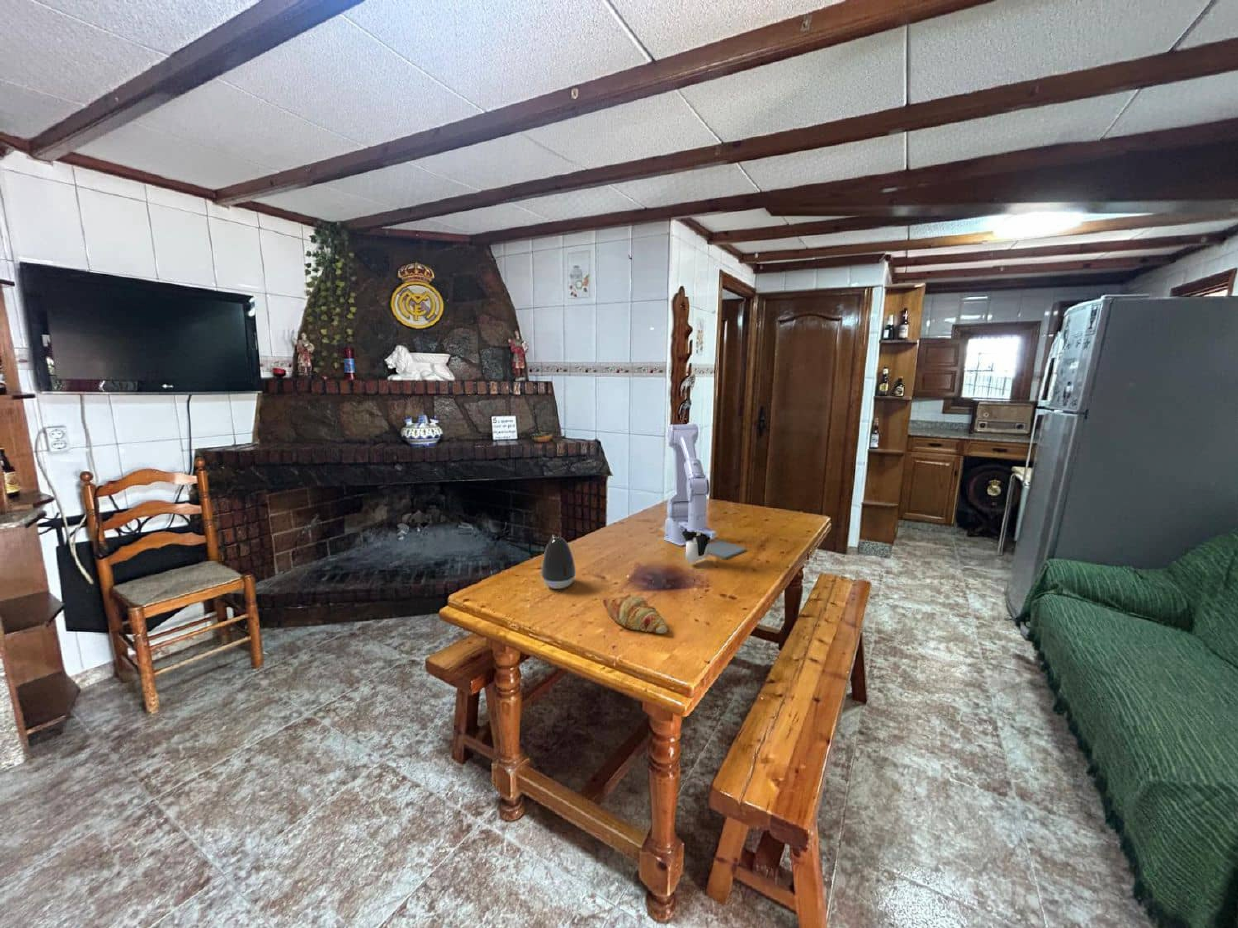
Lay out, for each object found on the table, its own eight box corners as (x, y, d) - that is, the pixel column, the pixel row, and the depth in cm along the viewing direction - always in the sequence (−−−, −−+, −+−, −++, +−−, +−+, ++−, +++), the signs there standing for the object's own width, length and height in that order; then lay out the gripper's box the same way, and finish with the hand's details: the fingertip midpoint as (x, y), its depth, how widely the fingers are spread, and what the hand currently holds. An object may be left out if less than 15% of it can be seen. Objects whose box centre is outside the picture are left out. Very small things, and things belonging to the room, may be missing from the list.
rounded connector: (683, 559, 164) (683, 539, 163) (700, 553, 170) (701, 533, 168) (691, 563, 161) (692, 542, 160) (708, 556, 167) (709, 536, 165)
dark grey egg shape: (570, 575, 158) (569, 529, 155) (580, 589, 148) (578, 540, 145) (538, 581, 154) (536, 534, 151) (546, 595, 145) (544, 545, 142)
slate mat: (697, 549, 178) (697, 547, 178) (719, 541, 186) (719, 539, 186) (724, 559, 169) (724, 557, 169) (746, 550, 177) (746, 548, 177)
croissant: (673, 643, 126) (682, 612, 127) (651, 641, 118) (661, 608, 119) (610, 615, 139) (619, 587, 140) (587, 611, 132) (597, 582, 133)
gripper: (672, 511, 165) (672, 550, 168) (706, 521, 154) (705, 563, 157) (686, 507, 170) (686, 545, 173) (721, 517, 159) (719, 557, 162)
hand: (696, 553), depth 165 cm, fingers closed on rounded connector, 4 cm apart
